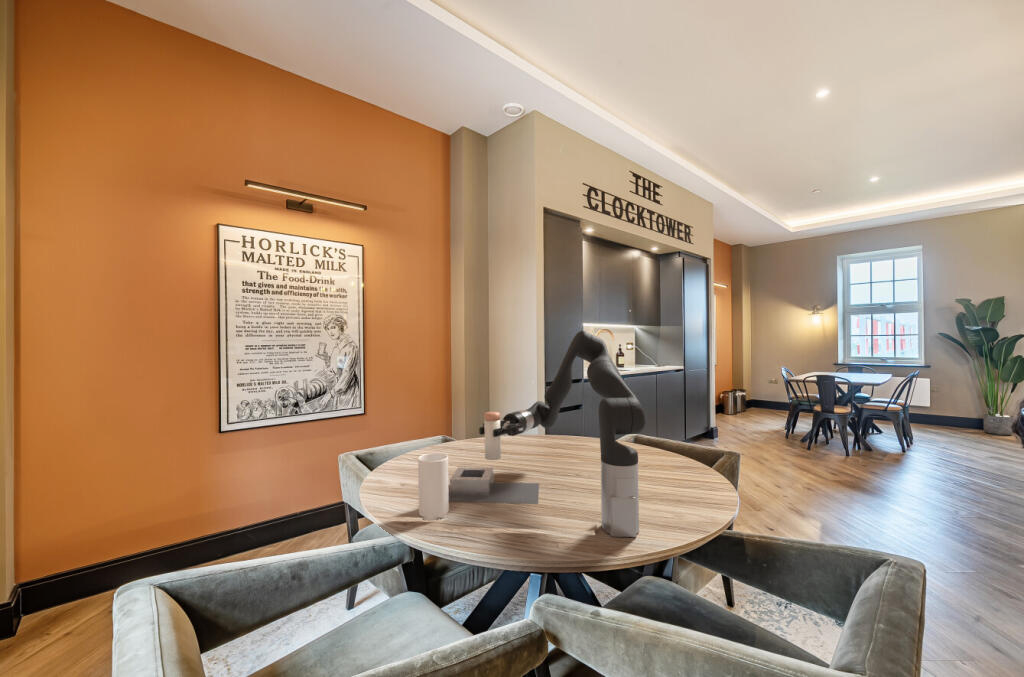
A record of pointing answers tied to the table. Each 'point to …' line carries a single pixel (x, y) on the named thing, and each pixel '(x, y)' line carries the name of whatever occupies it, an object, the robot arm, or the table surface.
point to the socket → (472, 482)
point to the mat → (505, 494)
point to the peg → (490, 441)
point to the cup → (433, 485)
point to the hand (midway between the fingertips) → (487, 432)
